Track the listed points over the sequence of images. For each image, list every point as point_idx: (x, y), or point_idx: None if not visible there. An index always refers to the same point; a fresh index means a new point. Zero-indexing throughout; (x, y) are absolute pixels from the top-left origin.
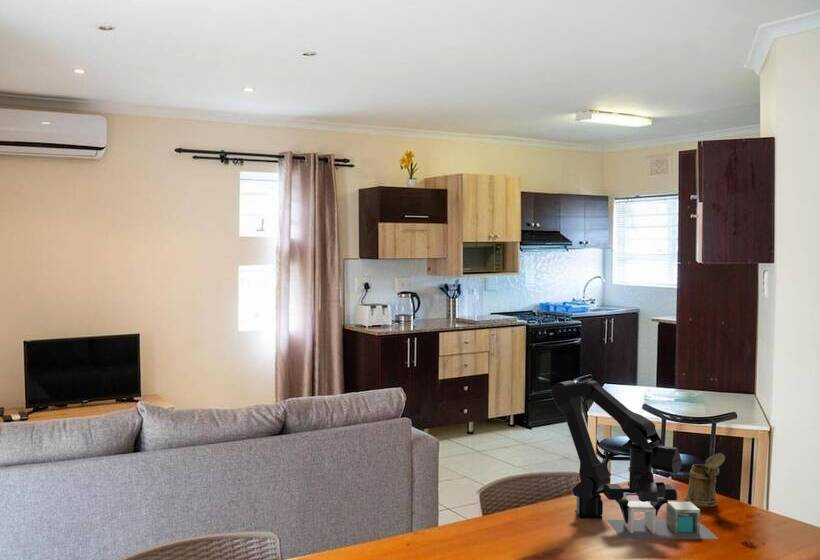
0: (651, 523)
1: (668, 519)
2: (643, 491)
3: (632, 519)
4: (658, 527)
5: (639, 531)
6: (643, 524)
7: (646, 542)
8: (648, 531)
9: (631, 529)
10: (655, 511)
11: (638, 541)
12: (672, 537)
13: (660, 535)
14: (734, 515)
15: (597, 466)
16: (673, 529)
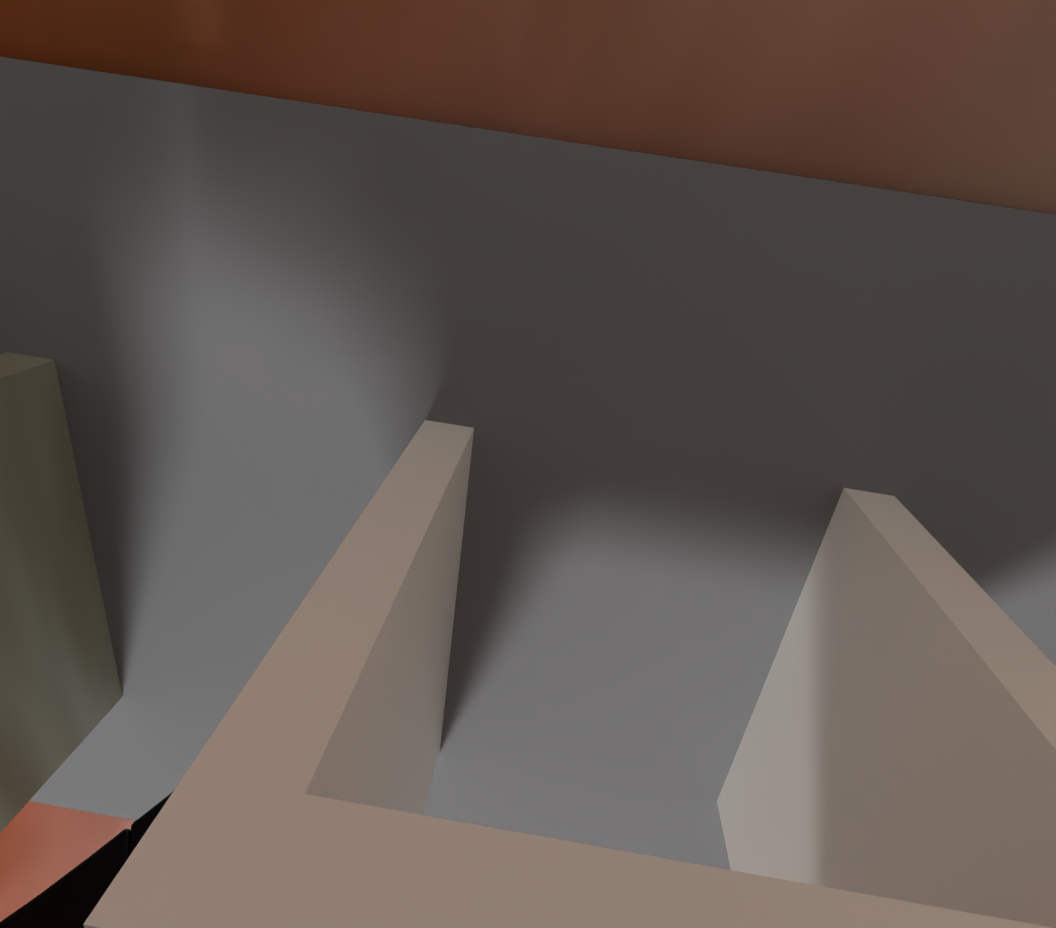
0: (431, 583)
1: (12, 720)
2: None
3: (1044, 694)
4: (269, 631)
5: (675, 537)
6: (451, 755)
7: (847, 3)
8: (510, 513)
9: (914, 531)
10: (176, 810)
11: (995, 98)
12: (150, 147)
13: (367, 295)
14: None
15: None
16: (35, 453)
